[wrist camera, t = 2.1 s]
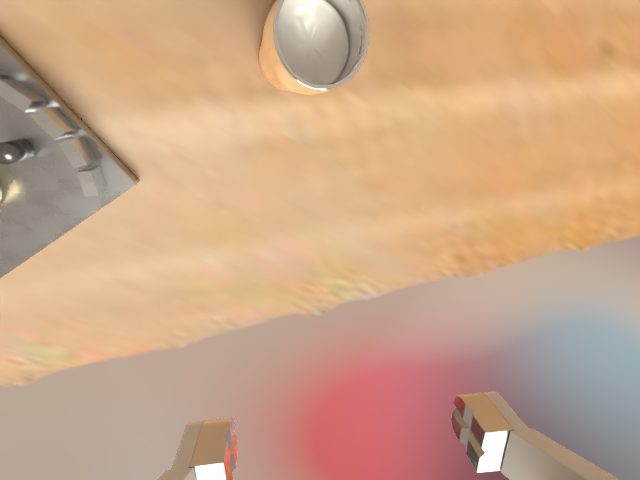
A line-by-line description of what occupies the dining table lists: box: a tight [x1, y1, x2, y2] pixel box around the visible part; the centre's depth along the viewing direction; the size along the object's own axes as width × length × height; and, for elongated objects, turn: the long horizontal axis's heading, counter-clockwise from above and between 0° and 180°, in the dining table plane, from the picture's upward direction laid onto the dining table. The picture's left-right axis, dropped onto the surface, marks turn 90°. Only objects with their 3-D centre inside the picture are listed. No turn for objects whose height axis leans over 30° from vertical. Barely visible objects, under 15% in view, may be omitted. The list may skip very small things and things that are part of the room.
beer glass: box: [259, 0, 370, 95], centre depth 26 cm, size 7×7×15 cm
